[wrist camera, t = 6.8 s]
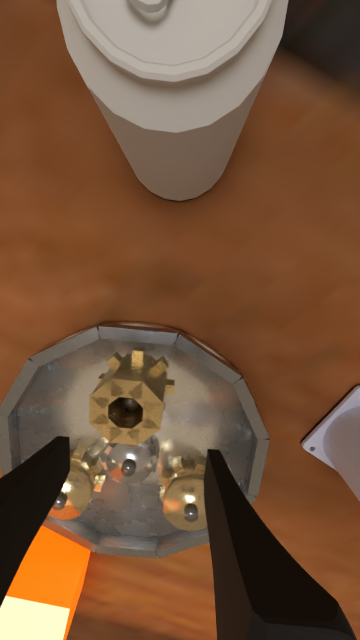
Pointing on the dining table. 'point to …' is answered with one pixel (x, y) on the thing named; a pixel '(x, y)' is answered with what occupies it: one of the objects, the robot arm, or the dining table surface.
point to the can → (174, 79)
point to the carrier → (134, 460)
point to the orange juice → (44, 589)
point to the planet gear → (130, 382)
